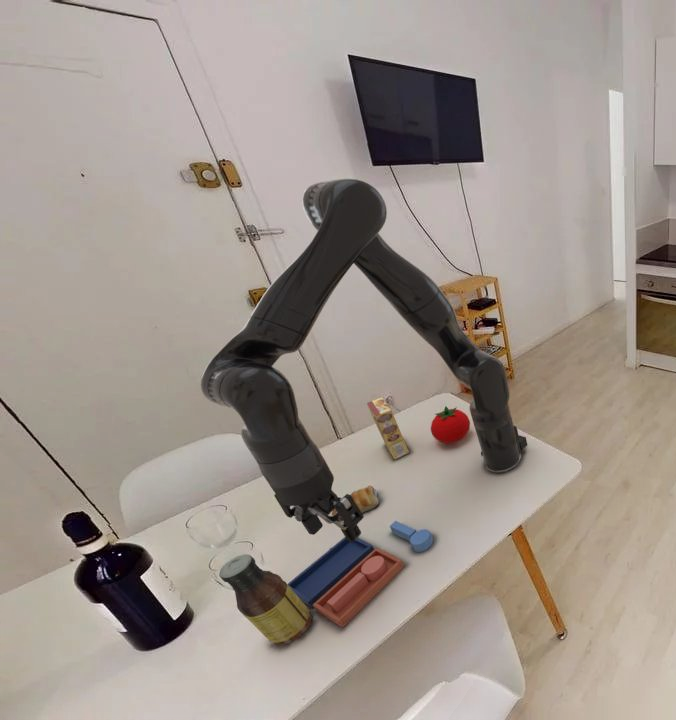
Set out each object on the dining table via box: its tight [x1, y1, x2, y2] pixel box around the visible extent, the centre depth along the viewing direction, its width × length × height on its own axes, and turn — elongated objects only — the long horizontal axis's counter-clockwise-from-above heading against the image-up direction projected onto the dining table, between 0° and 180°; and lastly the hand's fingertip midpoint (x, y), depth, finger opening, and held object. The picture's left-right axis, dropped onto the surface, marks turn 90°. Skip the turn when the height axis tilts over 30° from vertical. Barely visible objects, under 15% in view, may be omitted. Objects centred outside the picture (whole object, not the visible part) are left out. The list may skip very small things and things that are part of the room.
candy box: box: [366, 397, 410, 460], centre depth 113 cm, size 9×4×15 cm, turn 44°
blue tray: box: [287, 536, 375, 609], centre depth 84 cm, size 13×8×2 cm, turn 156°
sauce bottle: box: [218, 553, 313, 646], centre depth 70 cm, size 6×6×20 cm
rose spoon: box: [327, 556, 387, 613], centre depth 80 cm, size 11×4×3 cm, turn 156°
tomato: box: [430, 405, 471, 444], centre depth 118 cm, size 10×10×10 cm
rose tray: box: [313, 547, 405, 629], centre depth 81 cm, size 13×8×2 cm, turn 156°
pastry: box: [331, 485, 379, 519], centre depth 98 cm, size 9×7×4 cm
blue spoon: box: [389, 520, 434, 553], centre depth 90 cm, size 11×4×3 cm, turn 66°
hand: (335, 534), depth 75 cm, fingers open, 8 cm apart
